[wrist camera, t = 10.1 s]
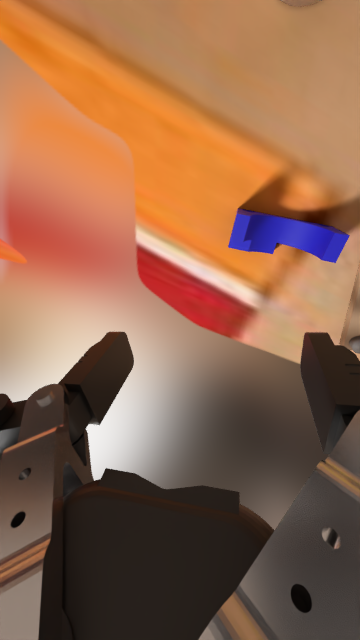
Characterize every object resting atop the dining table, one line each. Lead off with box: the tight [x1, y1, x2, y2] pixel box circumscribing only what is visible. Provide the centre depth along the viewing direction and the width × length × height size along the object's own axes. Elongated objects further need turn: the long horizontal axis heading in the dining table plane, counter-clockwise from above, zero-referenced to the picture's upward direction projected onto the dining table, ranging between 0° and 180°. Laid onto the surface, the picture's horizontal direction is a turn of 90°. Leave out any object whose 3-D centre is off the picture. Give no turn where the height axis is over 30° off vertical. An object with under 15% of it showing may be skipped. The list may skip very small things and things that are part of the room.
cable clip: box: [228, 208, 349, 263], centre depth 29 cm, size 12×4×6 cm, turn 81°
